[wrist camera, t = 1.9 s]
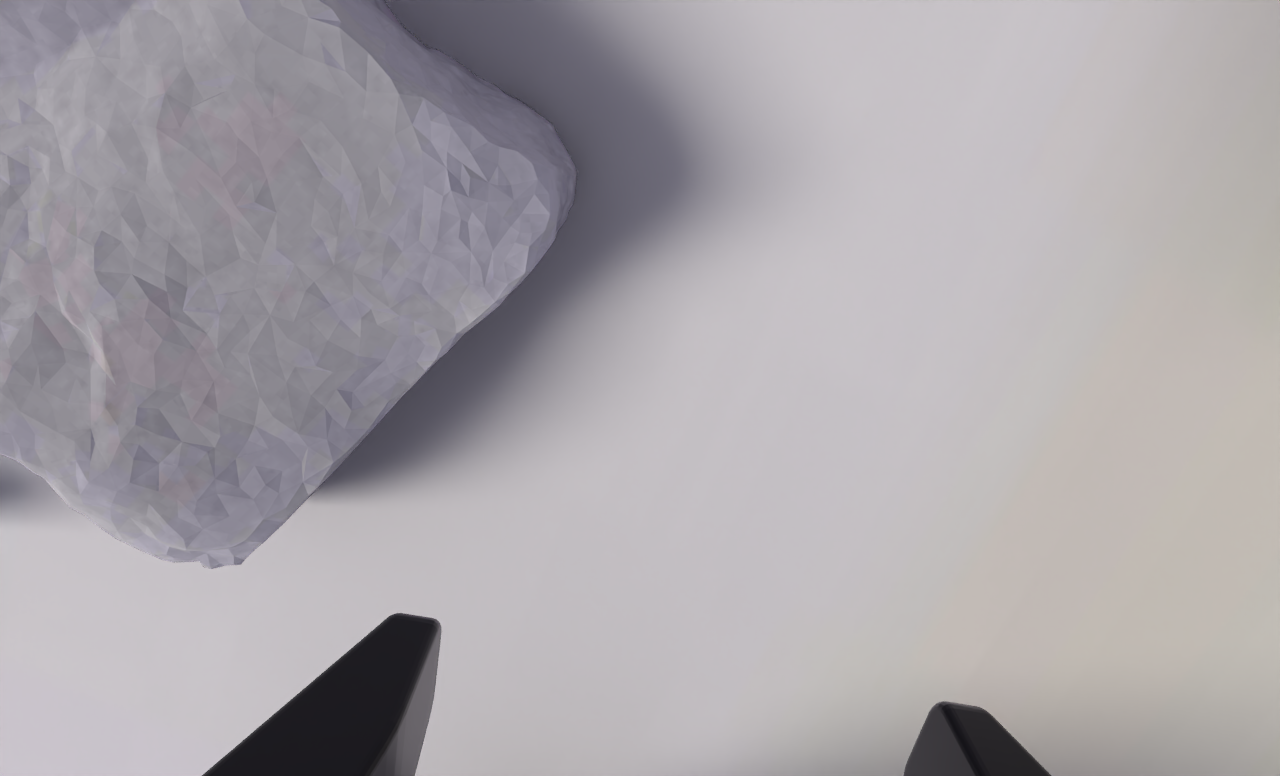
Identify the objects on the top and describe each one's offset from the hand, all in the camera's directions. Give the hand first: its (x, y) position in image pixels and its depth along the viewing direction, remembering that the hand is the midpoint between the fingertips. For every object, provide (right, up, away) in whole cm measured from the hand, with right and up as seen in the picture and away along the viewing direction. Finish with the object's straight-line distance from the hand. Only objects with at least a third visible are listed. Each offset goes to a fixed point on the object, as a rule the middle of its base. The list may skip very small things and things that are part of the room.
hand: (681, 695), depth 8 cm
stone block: (-9, +7, +11) cm, 15 cm away
